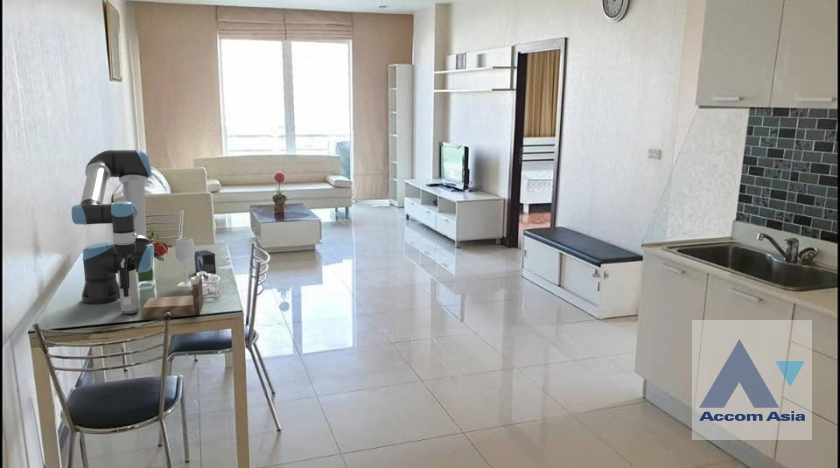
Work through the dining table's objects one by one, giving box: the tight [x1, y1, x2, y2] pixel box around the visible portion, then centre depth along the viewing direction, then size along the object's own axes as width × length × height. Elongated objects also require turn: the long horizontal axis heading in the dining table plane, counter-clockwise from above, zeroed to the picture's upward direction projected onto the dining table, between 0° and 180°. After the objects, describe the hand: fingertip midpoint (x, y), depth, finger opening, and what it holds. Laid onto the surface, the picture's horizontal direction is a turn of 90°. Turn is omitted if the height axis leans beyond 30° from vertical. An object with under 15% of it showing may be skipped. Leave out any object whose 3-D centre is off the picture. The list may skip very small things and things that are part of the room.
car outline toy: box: [190, 271, 222, 299], centre depth 269 cm, size 20×11×7 cm, turn 25°
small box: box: [194, 249, 217, 277], centre depth 301 cm, size 11×6×10 cm, turn 42°
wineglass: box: [174, 237, 196, 288], centre depth 279 cm, size 9×9×21 cm
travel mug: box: [117, 260, 140, 315], centre depth 239 cm, size 6×7×20 cm
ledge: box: [142, 275, 204, 318], centre depth 243 cm, size 20×13×12 cm, turn 103°
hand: (129, 301), depth 240 cm, fingers closed on travel mug, 6 cm apart
